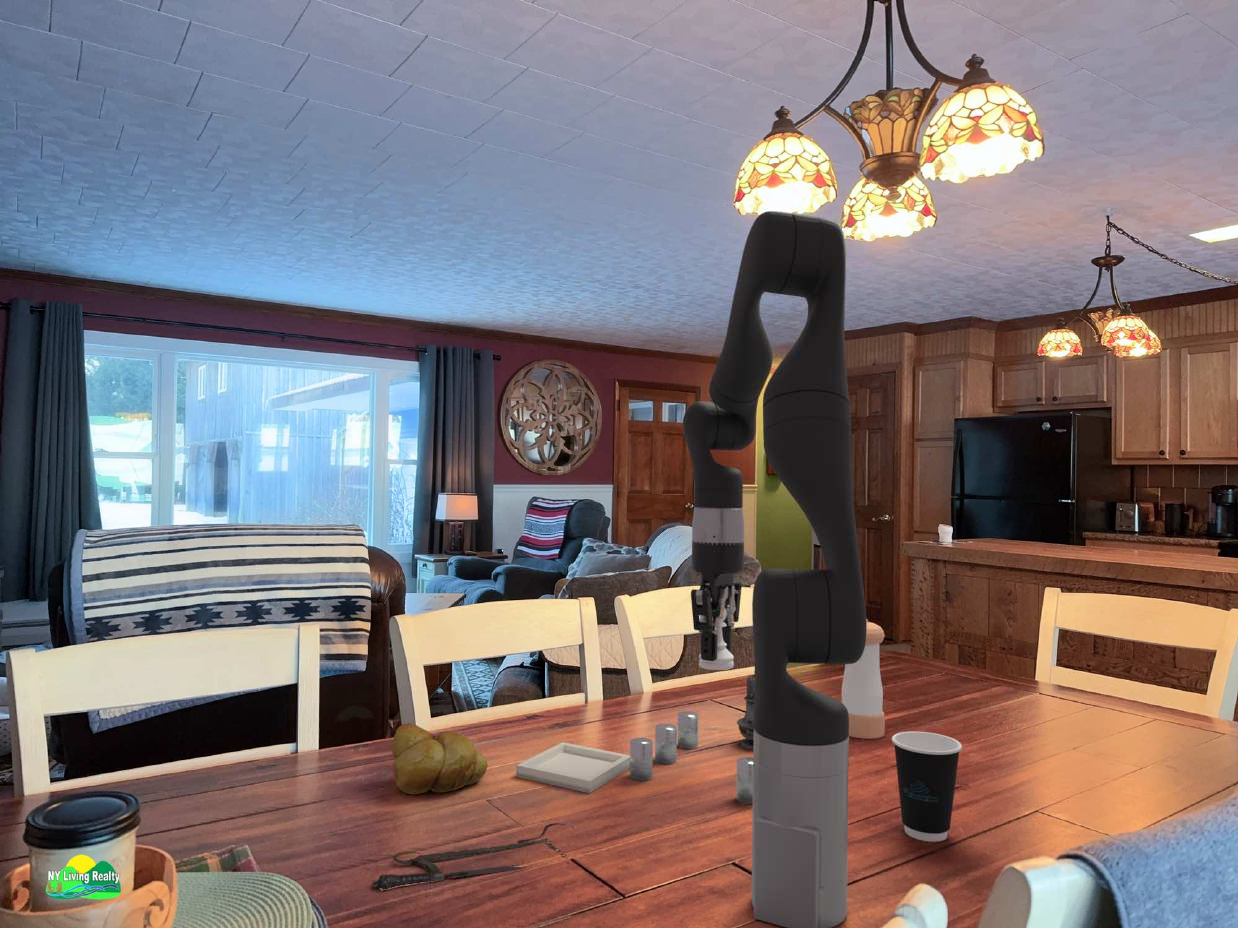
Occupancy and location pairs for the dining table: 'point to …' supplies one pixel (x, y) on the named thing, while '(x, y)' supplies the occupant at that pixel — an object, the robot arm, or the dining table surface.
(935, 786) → the dixie cup
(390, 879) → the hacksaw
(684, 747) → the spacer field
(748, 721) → the grey chess piece
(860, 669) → the pepper shaker
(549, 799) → the dining table surface
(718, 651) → the chess pawn
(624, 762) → the square tray
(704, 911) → the dining table surface
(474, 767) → the bread roll
